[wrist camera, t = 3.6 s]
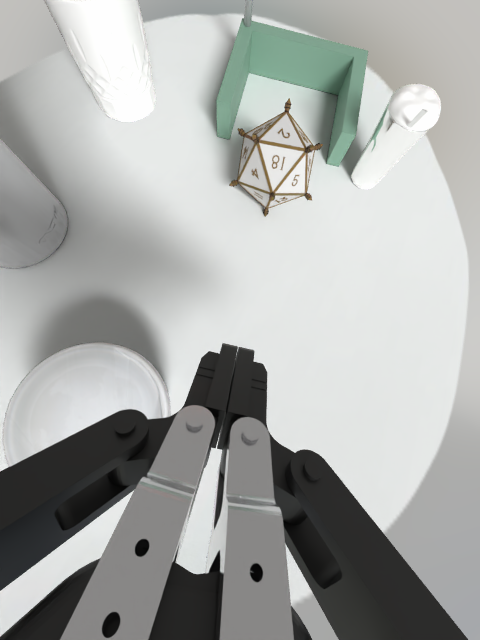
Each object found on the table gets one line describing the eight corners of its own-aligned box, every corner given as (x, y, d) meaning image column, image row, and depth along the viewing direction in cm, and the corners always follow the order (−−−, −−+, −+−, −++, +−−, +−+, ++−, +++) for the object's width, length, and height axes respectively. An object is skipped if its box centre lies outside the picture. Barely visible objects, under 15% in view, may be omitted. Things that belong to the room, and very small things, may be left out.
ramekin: (204, 416, 23) (199, 429, 18) (99, 507, 21) (59, 551, 16) (133, 324, 24) (109, 311, 19) (28, 401, 22) (-31, 410, 17)
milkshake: (338, 191, 29) (397, 99, 19) (351, 157, 30) (412, 54, 20) (374, 205, 29) (452, 120, 19) (385, 170, 30) (464, 74, 20)
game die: (252, 223, 32) (202, 191, 23) (264, 152, 30) (216, 90, 22) (323, 225, 27) (294, 186, 19) (340, 141, 26) (317, 58, 17)
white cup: (124, 65, 31) (78, -77, 21) (174, 97, 30) (152, -33, 21) (79, 103, 29) (7, -32, 19) (132, 138, 29) (85, 17, 19)
